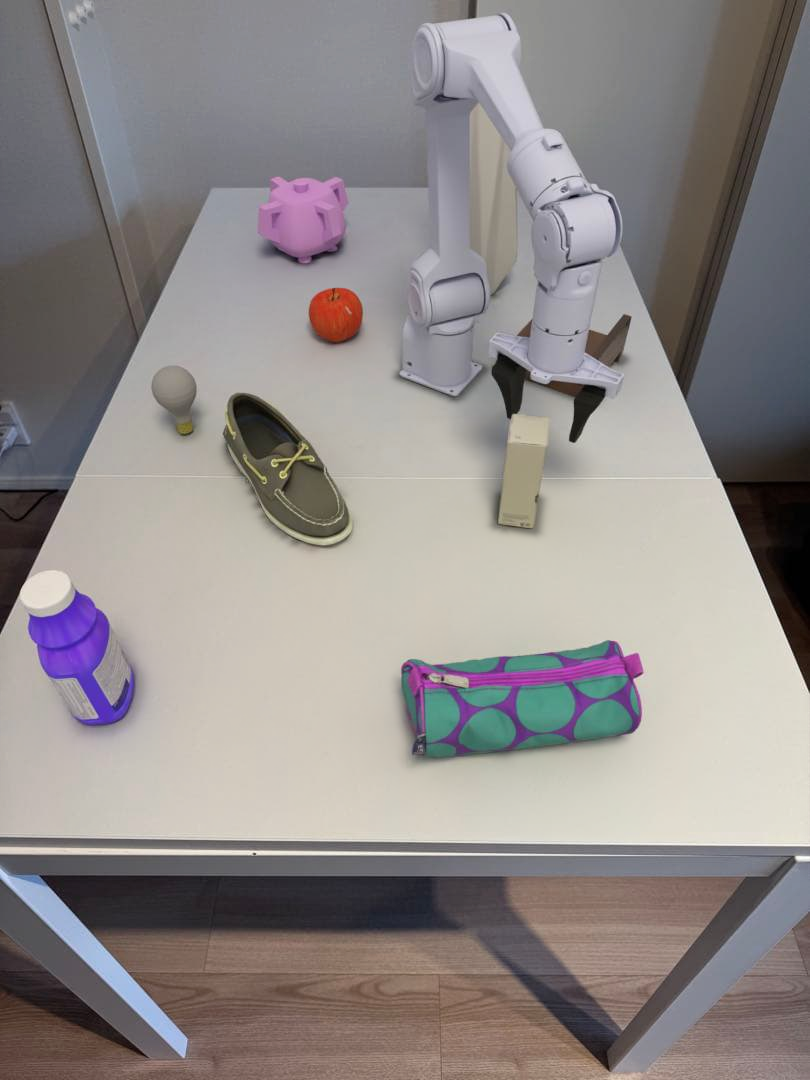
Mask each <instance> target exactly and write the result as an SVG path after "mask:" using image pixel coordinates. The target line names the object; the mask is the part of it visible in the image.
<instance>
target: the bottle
mask: <svg viewBox="0 0 810 1080" xmlns="http://www.w3.org/2000/svg"><path fill="white" fill-rule="evenodd" d="M19 599H20V602H21V603H22V605H23V608H24V609H25V611H26V613H27V614H28V616H29V619H28V620H29V621H28V624H27V630H28V634H29V637H30V639H31V640H32V641H33V643H35V644H36V650H37V654H38V659H39V664H40V666H41V668H42V669H43V671H44V672H45V674H46V676H47V677H48V678H49V680H50V682H51V683H52V685H53V686H54V688H55V689H56V691H57V692H58V694H59V695H60V697H61V699H62V700H63V702H64V703H65V705H66V706H67V708H68V709H69V711H70V712H71V715H72V717H74V719H75V720H77V721H78V722H79V723H81V724H83V725H84V724H85V725H88V726H95V725H108V724H111V723H114V722H116V721H118V720H121V719H122V717H124V715H125V714H126V712H128V711H127V710H128V709H129V707H130V704H131V702H132V698H133V694H134V686H135V680H134V679H135V678H134V671H133V667H132V666H131V663H130V662H129V660H128V658H127V655H126V653H125V652H124V650H123V648H122V646H121V644H120V642H119V640H118V638H117V636H116V634H115V632H114V630H113V628H112V626H111V624H110V622H109V621H110V620H109V618H108V616H107V615H106V614H105V613H104V611H102V610H101V609H99V608H97V607H96V604H95V602H94V600H93V599H92V598H91V597H89V596H88V595H86V594H83V593H80V592H79V591H78V590H77V589H76V586H75V584H74V583H73V582H72V580H71V578H70V576H69V575H68V574H67V573H66V572H64V571H61V570H58V569H49V570H44V571H40V572H38V573H36V574H34V575H32V576H31V577H30V578H28V579H27V580H26V581H25V582H24V584H23V585H22V587H21V589H20V592H19Z"/></svg>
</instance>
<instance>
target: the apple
mask: <svg viewBox="0 0 810 1080" xmlns="http://www.w3.org/2000/svg"><path fill="white" fill-rule="evenodd" d="M363 316H364V308H363V304H362V301H361V300H360V297H359V296H358V295H357V294H356V293H355V292H354V291H353V290H351V289H349V288H345V287H330V288H327V289H324V290H321V291H319V292H318V293H316V294H315V295H314V296H313V297H312V298H311V300H310V303H309V306H308V319H309V322H310V326H311V327H312V329H313V330H314V331H315V333H316V334H317V335H318V336H319V337H320V338H322V339H325V340H327V341H329V342H332V343H340V342H343V341H345V340H348V339H350V338H352V337H353V336H354V335H356V334H357V333H358V331H359V330H360V328H361V326H362V322H363Z"/></svg>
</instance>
